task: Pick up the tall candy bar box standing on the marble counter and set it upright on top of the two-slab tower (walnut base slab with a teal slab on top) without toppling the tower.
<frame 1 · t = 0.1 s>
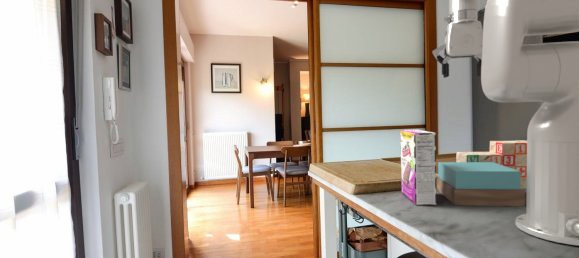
hand: (463, 76, 95), 31 cm above the counter, fingers open, 9 cm apart
walnut base slab: (475, 199, 75), on the counter, touching teal top slab
candy bar box: (417, 199, 75), on the counter
stack of blocks: (501, 187, 85), on the counter
teal top slab: (475, 182, 75), point 3 cm above the counter, touching walnut base slab
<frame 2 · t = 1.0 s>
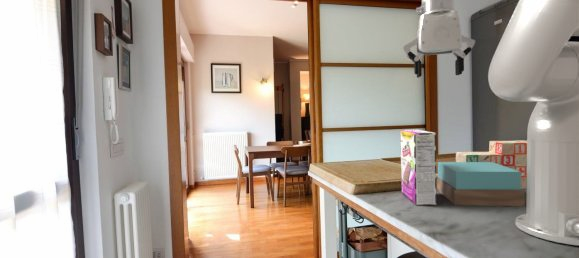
hand: (438, 75, 82), 30 cm above the counter, fingers open, 9 cm apart
nothing on the counter moved.
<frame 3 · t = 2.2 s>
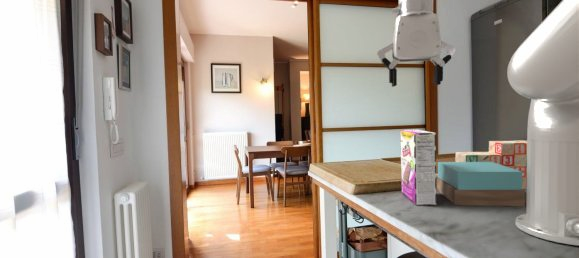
hand: (415, 85, 74), 27 cm above the counter, fingers open, 9 cm apart
walnut base slab: (475, 199, 75), on the counter
teal top slab: (475, 183, 75), point 3 cm above the counter
everything else where it was.
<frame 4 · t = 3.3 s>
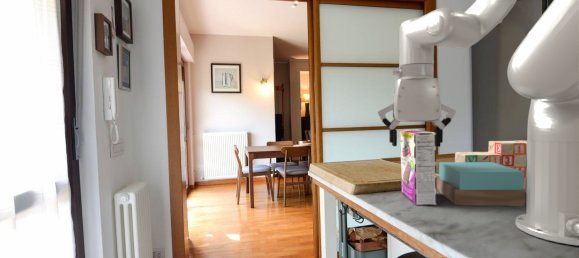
hand: (415, 145, 74), 13 cm above the counter, fingers open, 9 cm apart
walnut base slab: (475, 199, 75), on the counter, touching teal top slab
teal top slab: (477, 183, 75), point 3 cm above the counter, touching walnut base slab
everything else where it was.
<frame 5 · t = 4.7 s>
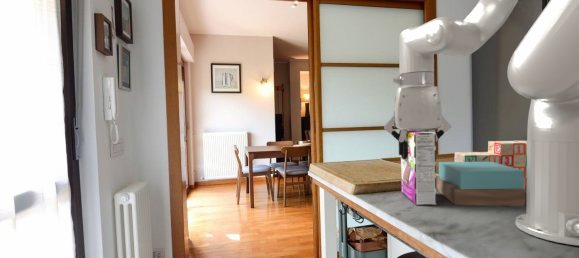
hand: (416, 157, 74), 10 cm above the counter, fingers closed on candy bar box, 5 cm apart
candy bar box: (417, 199, 75), on the counter, touching gripper
everything else where it was.
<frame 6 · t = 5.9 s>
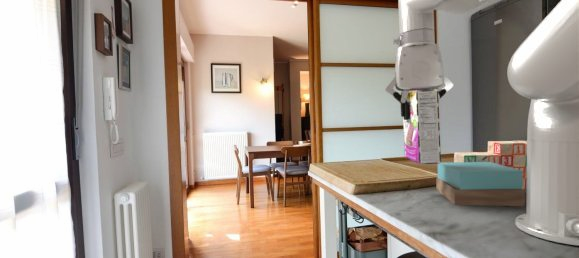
hand: (419, 118, 73), 19 cm above the counter, fingers closed on candy bar box, 5 cm apart
candy bar box: (421, 161, 73), point 9 cm above the counter, touching gripper
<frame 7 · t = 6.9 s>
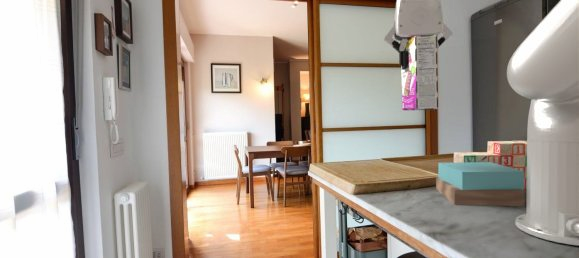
hand: (417, 67, 73), 31 cm above the counter, fingers closed on candy bar box, 5 cm apart
candy bar box: (418, 111, 74), point 21 cm above the counter, touching gripper
when the fingers open (19 cm above the counter, at t = 11.1 s): candy bar box drops 2 cm, resting on teal top slab.
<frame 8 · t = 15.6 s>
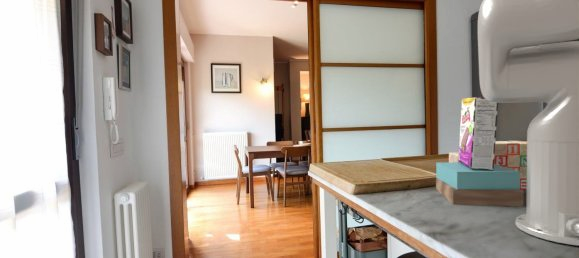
hand: (547, 43, 74), 36 cm above the counter, fingers open, 9 cm apart
candy bar box: (473, 166, 75), point 7 cm above the counter, touching teal top slab
stack of blocks: (494, 188, 84), on the counter
teal top slab: (474, 183, 75), point 3 cm above the counter, touching candy bar box, walnut base slab
everything else where it was.
at the end: candy bar box inside the target area on the walnut base slab (0.3 cm from its centre), point 7.9 cm above the walnut base slab's base; candy bar box tilted 1°; teal top slab 0.2 cm off-centre on the walnut base slab, point 4.0 cm above the walnut base slab's base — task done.
